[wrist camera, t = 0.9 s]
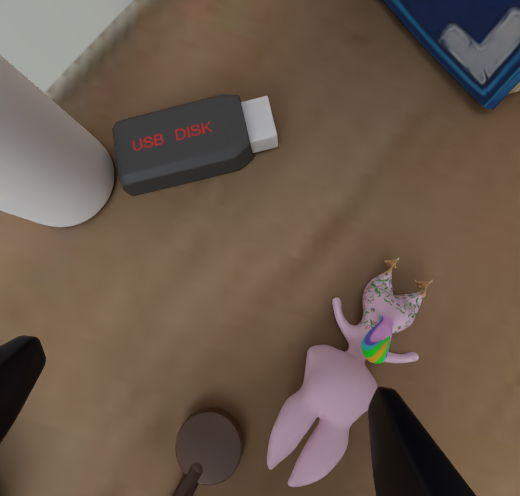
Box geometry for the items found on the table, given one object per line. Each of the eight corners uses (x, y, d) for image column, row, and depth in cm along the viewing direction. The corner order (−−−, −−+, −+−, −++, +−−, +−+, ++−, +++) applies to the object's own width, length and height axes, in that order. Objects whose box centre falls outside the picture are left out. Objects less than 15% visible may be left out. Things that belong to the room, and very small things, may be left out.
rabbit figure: (359, 253, 24) (237, 433, 21) (391, 224, 19) (230, 465, 15) (434, 303, 23) (319, 502, 20) (490, 289, 18) (343, 564, 14)
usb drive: (122, 136, 26) (103, 117, 24) (266, 100, 26) (263, 76, 23) (131, 196, 26) (112, 183, 23) (281, 160, 25) (279, 142, 22)
